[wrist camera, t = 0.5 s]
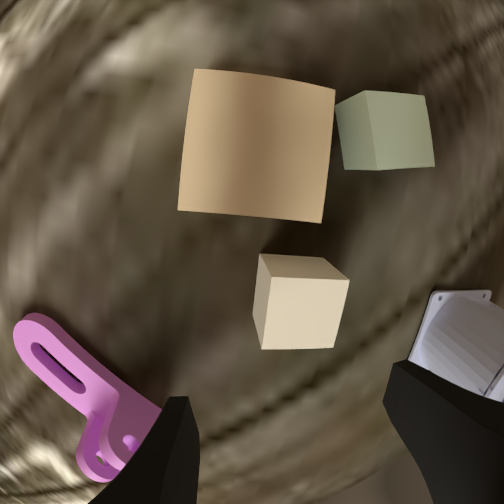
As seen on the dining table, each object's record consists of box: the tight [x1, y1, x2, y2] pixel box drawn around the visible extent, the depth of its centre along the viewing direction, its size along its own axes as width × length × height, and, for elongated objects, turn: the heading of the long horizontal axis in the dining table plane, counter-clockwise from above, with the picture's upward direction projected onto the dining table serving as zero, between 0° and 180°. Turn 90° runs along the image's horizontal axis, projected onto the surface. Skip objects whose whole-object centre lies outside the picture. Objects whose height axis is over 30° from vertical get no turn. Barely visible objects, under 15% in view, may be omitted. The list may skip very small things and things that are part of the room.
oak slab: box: [178, 69, 335, 223], centre depth 14 cm, size 7×7×3 cm
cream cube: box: [253, 253, 349, 349], centre depth 16 cm, size 4×4×4 cm
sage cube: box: [334, 90, 435, 170], centre depth 14 cm, size 4×4×4 cm
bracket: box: [13, 313, 162, 482], centre depth 15 cm, size 13×6×7 cm, turn 41°
